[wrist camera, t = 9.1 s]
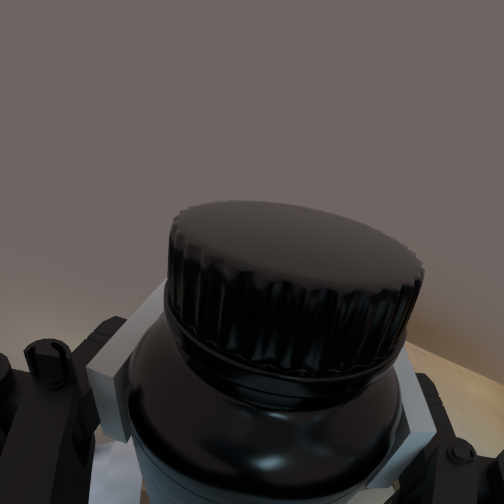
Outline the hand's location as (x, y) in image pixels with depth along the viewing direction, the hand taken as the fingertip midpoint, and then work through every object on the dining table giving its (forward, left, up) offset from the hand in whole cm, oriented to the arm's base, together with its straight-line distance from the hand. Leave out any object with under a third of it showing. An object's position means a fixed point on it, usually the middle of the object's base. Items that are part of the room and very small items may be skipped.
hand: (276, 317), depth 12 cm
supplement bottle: (+1, +5, -7) cm, 9 cm away
